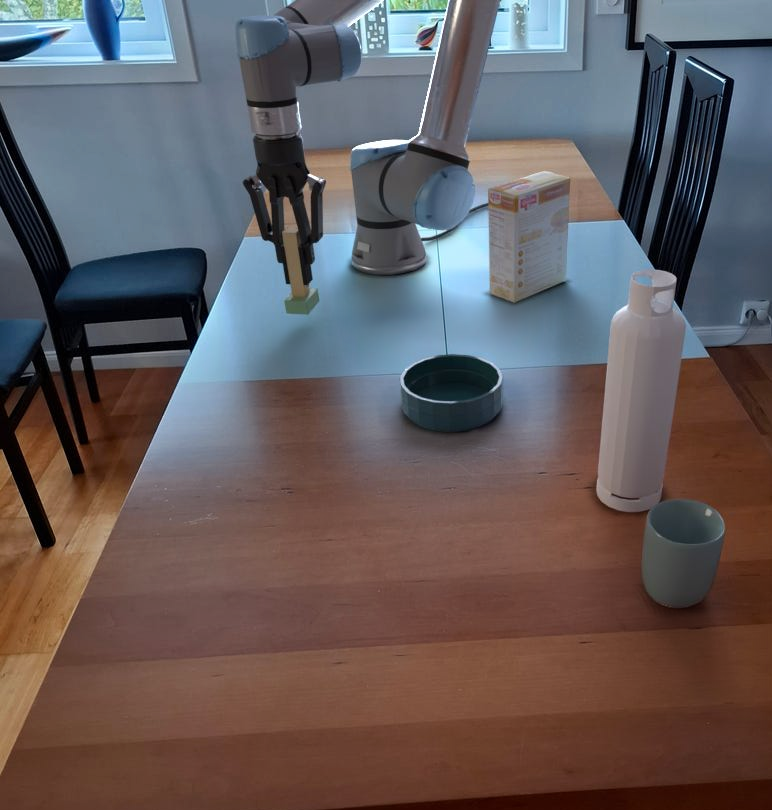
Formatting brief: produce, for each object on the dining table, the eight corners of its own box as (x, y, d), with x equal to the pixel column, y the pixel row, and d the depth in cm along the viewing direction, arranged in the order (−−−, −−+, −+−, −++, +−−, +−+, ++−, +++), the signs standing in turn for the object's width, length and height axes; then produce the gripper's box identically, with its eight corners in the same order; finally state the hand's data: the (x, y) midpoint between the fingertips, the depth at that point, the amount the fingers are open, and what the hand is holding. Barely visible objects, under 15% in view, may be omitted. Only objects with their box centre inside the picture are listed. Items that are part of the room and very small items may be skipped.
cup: (629, 572, 90) (638, 500, 84) (697, 567, 90) (711, 495, 84) (646, 622, 84) (658, 548, 78) (720, 616, 84) (737, 543, 78)
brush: (297, 299, 144) (286, 223, 136) (319, 301, 143) (308, 224, 135) (286, 313, 139) (273, 235, 131) (308, 314, 138) (296, 236, 130)
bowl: (414, 380, 126) (412, 351, 123) (508, 386, 124) (508, 357, 121) (391, 430, 115) (388, 399, 112) (494, 437, 113) (494, 406, 110)
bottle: (620, 519, 98) (645, 298, 81) (583, 485, 103) (599, 272, 86) (674, 500, 101) (709, 283, 84) (635, 468, 106) (660, 259, 89)
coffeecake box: (540, 272, 162) (543, 169, 150) (567, 281, 158) (572, 177, 146) (487, 293, 154) (486, 187, 142) (514, 303, 149) (515, 195, 138)
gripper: (219, 138, 122) (248, 287, 136) (317, 140, 120) (336, 292, 134) (239, 127, 128) (264, 271, 142) (332, 129, 126) (349, 275, 140)
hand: (299, 281), depth 138 cm, fingers closed on brush, 2 cm apart
